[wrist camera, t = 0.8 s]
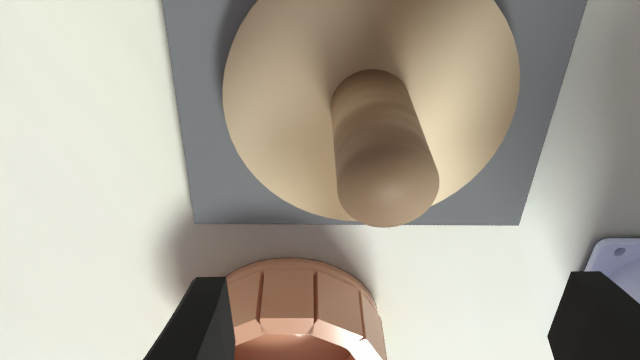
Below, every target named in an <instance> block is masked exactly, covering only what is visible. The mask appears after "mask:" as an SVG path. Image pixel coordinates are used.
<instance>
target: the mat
mask: <svg viewBox="0 0 640 360" xmlns="http://www.w3.org/2000/svg"><path fill="white" fill-rule="evenodd" d="M256 1H257V0H162V3H163V10H164V17H165V24H166V31H167V37H168V44H169V51H170V58H171V65H172V71H173V78H174V85H175V92H176V99H177V105H178V112H179V119H180V126H181V133H182V139H183V146H184V153H185V160H186V167H187V173H188V180H189V187H190V194H191V201H192V207H193V214H194V221H195V224H339V225H365V224H363V223H360V222H358V221H344V220H338V219H332V218H327V217H323V216H319V215H316V214H312V213H310V212H307V211H305V210H302V209H300V208H297V207H295V206H294V205H292V204H290V203H288V202H286V201H284V200H283V199H281V198H280V197H278V196H277V195H275V194H274V193H273V192H271V191H270V190H269V189H267V188H266V187H265V186H264V185H263V184H262V183H261V182H260V181H259V180H258V179H257V178H256V177H255V176H254V175H253V174H252V172H251V171H250V170H249V169H248V168H247V166H246V165H245V163H244V162H243V160H242V159H241V157H240V156H239V154H238V152H237V150H236V148H235V146H234V144H233V142H232V140H231V137H230V134H229V131H228V128H227V125H226V121H225V115H224V109H223V88H222V87H223V79H224V71H225V66H226V62H227V59H228V55H229V51H230V48H231V46H232V43H233V40H234V38H235V36H236V33H237V31H238V29H239V27H240V24H241V23H242V21H243V19H244V18H245V16H246V15H247V13H248V11H249V10H250V8H251V7H252V6H253V4H254V3H255V2H256ZM494 1H495V3H496V4H497V6H498V7H499V9H500V10H501V12H502V14H503V15H504V17H505V18H506V20H507V23H508V25H509V27H510V30H511V32H512V34H513V36H514V40H515V44H516V48H517V52H518V58H519V67H520V85H519V95H518V100H517V105H516V110H515V113H514V116H513V119H512V122H511V125H510V127H509V129H508V131H507V133H506V135H505V137H504V140H503V142H502V143H501V145H500V146H499V148H498V149H497V151H496V152H495V154H494V156H493V157H492V158H491V159H490V160H489V162H488V163H487V164H486V165H485V167H484V168H483V169H482V170H481V171H480V172H479V173H478V174H477V175H476V176H475V177H474V178H473V179H472V180H471V181H470V182H468V183H467V184H466V185H464V186H463V187H462V188H461V189H459V190H458V191H457V192H455V193H454V194H452V195H450V196H449V197H447V198H446V199H444V200H442V201H441V202H438V203H436V204H434V205H432V206H430V207H429V209H428V210H427V211H426V212H425V213H423V214H422V215H421V216H420V217H418V218H416V219H415V220H413V221H411V222H409V223H406V224H403V225H518V226H519V223H520V220H521V216H522V213H523V210H524V206H525V203H526V200H527V197H528V193H529V190H530V187H531V183H532V180H533V177H534V174H535V170H536V167H537V164H538V161H539V157H540V154H541V151H542V147H543V144H544V141H545V138H546V134H547V131H548V128H549V124H550V121H551V118H552V115H553V111H554V108H555V105H556V101H557V98H558V95H559V92H560V88H561V85H562V82H563V79H564V75H565V72H566V69H567V65H568V62H569V59H570V56H571V52H572V49H573V46H574V42H575V39H576V36H577V33H578V29H579V26H580V23H581V20H582V16H583V13H584V10H585V6H586V3H587V0H494Z"/></svg>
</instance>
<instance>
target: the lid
mask: <svg viewBox="0 0 640 360" xmlns="http://www.w3.org/2000/svg"><path fill="white" fill-rule="evenodd" d="M519 85H520V67H519V58H518V52H517V48H516V44H515V40H514V36H513V34H512V32H511V30H510V27H509V25H508V23H507V20H506V18H505V17H504V15H503V14H502V12H501V10H500V9H499V7H498V6H497V4H496V3H495V1H494V0H257V1H256V2H255V3H254V4H253V6H252V7H251V8H250V10H249V11H248V13H247V15H246V16H245V18H244V19H243V21H242V23H241V24H240V27H239V29H238V31H237V33H236V36H235V38H234V40H233V43H232V46H231V48H230V51H229V55H228V59H227V62H226V66H225V71H224V79H223V87H222V88H223V109H224V115H225V121H226V125H227V128H228V131H229V134H230V137H231V140H232V142H233V144H234V146H235V148H236V150H237V152H238V154H239V156H240V157H241V159H242V160H243V162H244V163H245V165H246V166H247V168H248V169H249V170H250V171H251V172H252V174H253V175H254V176H255V177H256V178H257V179H258V180H259V181H260V182H261V183H262V184H263V185H264V186H265V187H266V188H267V189H269V190H270V191H271V192H273V193H274V194H275V195H277V196H278V197H280V198H281V199H283V200H284V201H286V202H288V203H290V204H292V205H294V206H295V207H297V208H300V209H302V210H305V211H307V212H310V213H312V214H316V215H319V216H323V217H327V218H332V219H338V220H344V221H358V222H360V223H363V224H365V225H369V226H373V227H395V226H399V225H403V224H406V223H409V222H411V221H413V220H415V219H416V218H418V217H420V216H421V215H422V214H423V213H425V212H426V211H427V210H428V209H429V207H430V206H432V205H434V204H436V203H438V202H441V201H442V200H444V199H446V198H447V197H449V196H450V195H452V194H454V193H455V192H457V191H458V190H459V189H461V188H462V187H463V186H464V185H466V184H467V183H468V182H470V181H471V180H472V179H473V178H474V177H475V176H476V175H477V174H478V173H479V172H480V171H481V170H482V169H483V168H484V167H485V165H486V164H487V163H488V162H489V160H490V159H491V158H492V157H493V156H494V154H495V152H496V151H497V149H498V148H499V146H500V145H501V143H502V142H503V140H504V137H505V135H506V133H507V131H508V129H509V127H510V125H511V122H512V119H513V116H514V113H515V110H516V105H517V100H518V95H519Z"/></svg>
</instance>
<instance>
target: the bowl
mask: <svg viewBox="0 0 640 360" xmlns="http://www.w3.org/2000/svg"><path fill="white" fill-rule="evenodd" d="M226 280H227V286H228V293H229V300H230V307H231V313H232V320H233V327H234V334H235V340H236V343H235V355H234V360H387V356H386V349H385V342H384V336H383V329H382V322H381V318H380V316H379V315H378V313H377V307H376V304H375V302H374V299H373V297H372V296H371V294H370V292H369V291H368V290H367V289H366V287H365V286H364V285H363V284H362V283H361V282H360V281H358V280H357V279H356V278H355V277H353V276H352V275H350V274H349V273H347V272H345V271H343V270H341V269H339V268H337V267H335V266H332V265H329V264H327V263H323V262H319V261H315V260H309V259H303V258H276V259H269V260H263V261H259V262H255V263H252V264H249V265H246V266H244V267H241V268H239V269H237V270H235V271H233V272H232V273H230V274H229V275H227V276H226Z"/></svg>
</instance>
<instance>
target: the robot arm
mask: <svg viewBox="0 0 640 360" xmlns="http://www.w3.org/2000/svg"><path fill="white" fill-rule="evenodd" d="M618 248H619V249H618ZM616 249H617V250H616ZM547 337H548V340H549V343H550V347H551V350H552V353H553V357H554V360H640V238H607V239H603V240H600V241H599V242H598V243H597V244H596V245H595V247H594V249H593V252H592V254H591V256H590V259H589V261H588V263H587V266H586V268H585V270H584V271H580V272H571V274H570V276H569V279H568V282H567V284H566V287H565V290H564V293H563V295H562V298H561V301H560V303H559V306H558V309H557V312H556V314H555V317H554V320H553V322H552V325H551V328H550V331H549V333H548V336H547ZM235 343H236V340H235V334H234V327H233V320H232V313H231V307H230V300H229V293H228V286H227V280H226V277H197V278H195V279H194V280H193V281H192V282H191V284H190V286H189V288H188V290H187V292H186V293H185V295H184V297H183V298H182V300H181V302H180V304H179V305H178V307H177V309H176V310H175V312H174V313H173V315H172V317H171V318H170V320H169V321H168V323H167V325H166V326H165V328H164V329H163V331H162V332H161V334H160V336H159V337H158V338H157V340H156V341H155V343H154V344H153V346H152V347H151V349H150V350H149V352H148V353H147V355H146V356H145V358H144V359H143V360H234V355H235Z"/></svg>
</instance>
